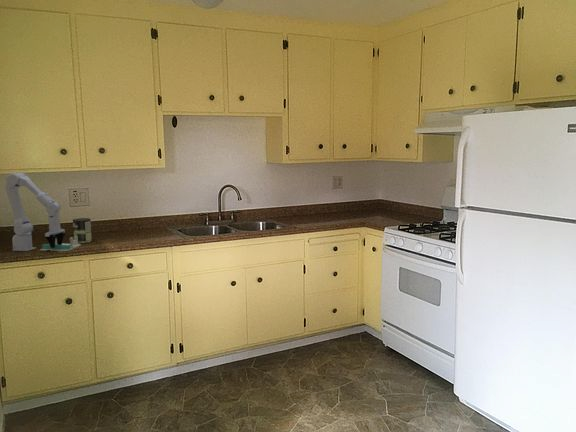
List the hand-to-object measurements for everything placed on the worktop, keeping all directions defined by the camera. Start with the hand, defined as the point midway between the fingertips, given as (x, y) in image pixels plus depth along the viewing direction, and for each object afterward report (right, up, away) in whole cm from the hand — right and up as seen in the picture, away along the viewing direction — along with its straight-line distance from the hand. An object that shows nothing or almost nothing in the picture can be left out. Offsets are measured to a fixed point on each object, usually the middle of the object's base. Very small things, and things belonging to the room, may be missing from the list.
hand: (56, 246), depth 262 cm
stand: (+1, -1, +9) cm, 9 cm away
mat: (0, -2, 0) cm, 2 cm away
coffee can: (+4, +1, +25) cm, 25 cm away
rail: (0, 0, 0) cm, 0 cm away
